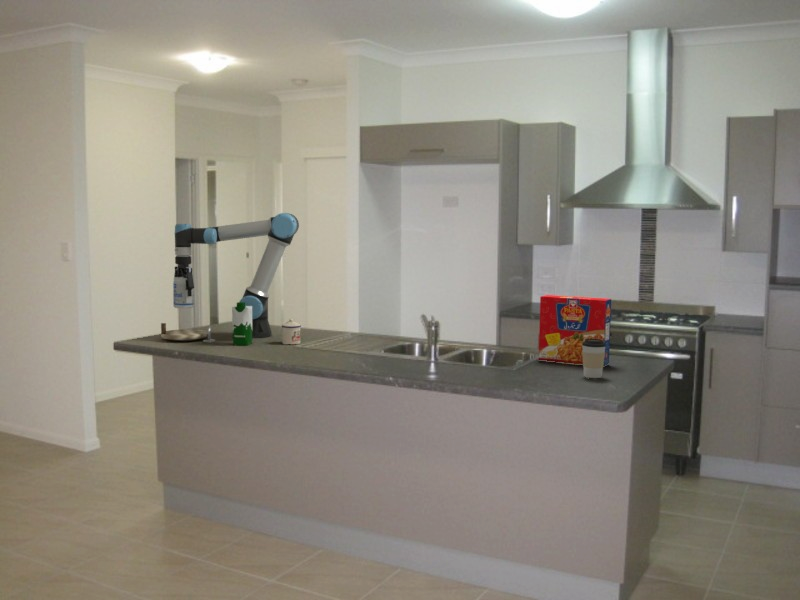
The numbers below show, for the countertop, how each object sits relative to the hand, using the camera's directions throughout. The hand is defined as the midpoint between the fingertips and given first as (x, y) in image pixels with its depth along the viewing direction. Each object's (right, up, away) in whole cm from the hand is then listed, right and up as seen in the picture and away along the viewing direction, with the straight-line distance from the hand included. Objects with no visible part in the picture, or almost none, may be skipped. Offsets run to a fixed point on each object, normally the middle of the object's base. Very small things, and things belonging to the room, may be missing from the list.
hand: (183, 302), depth 395 cm
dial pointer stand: (+12, -19, -3) cm, 23 cm away
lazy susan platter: (0, -17, +2) cm, 17 cm away
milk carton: (+30, -20, -10) cm, 38 cm away
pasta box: (+178, -26, -50) cm, 187 cm away
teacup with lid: (+53, -20, -5) cm, 57 cm away
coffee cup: (+179, -29, -79) cm, 198 cm away
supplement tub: (0, -3, 0) cm, 3 cm away
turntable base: (0, -18, +2) cm, 18 cm away
